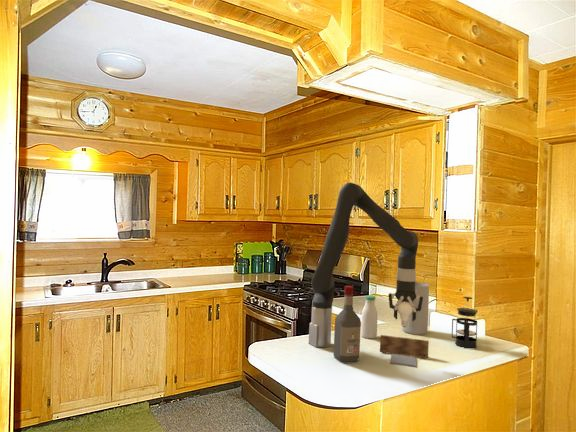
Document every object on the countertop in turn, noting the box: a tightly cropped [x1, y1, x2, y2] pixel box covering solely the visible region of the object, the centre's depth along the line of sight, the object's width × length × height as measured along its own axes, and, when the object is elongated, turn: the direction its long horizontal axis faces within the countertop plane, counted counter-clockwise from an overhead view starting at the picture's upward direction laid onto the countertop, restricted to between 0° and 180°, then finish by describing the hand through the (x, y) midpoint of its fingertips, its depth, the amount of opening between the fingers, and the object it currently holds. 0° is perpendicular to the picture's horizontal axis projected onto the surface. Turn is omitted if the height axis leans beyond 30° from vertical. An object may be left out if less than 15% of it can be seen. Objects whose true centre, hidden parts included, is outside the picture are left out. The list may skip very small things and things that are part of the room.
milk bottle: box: [360, 295, 378, 340], centre depth 198 cm, size 8×8×20 cm
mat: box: [389, 353, 417, 368], centre depth 166 cm, size 10×10×1 cm
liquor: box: [333, 285, 361, 364], centre depth 166 cm, size 9×9×30 cm
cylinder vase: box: [401, 281, 430, 336], centre depth 210 cm, size 12×12×25 cm
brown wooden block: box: [379, 334, 429, 360], centre depth 174 cm, size 20×5×7 cm, turn 73°
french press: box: [451, 296, 478, 349], centre depth 190 cm, size 12×9×23 cm
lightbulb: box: [397, 302, 413, 327], centre depth 166 cm, size 6×6×11 cm
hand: (404, 319), depth 166 cm, fingers closed on lightbulb, 6 cm apart
